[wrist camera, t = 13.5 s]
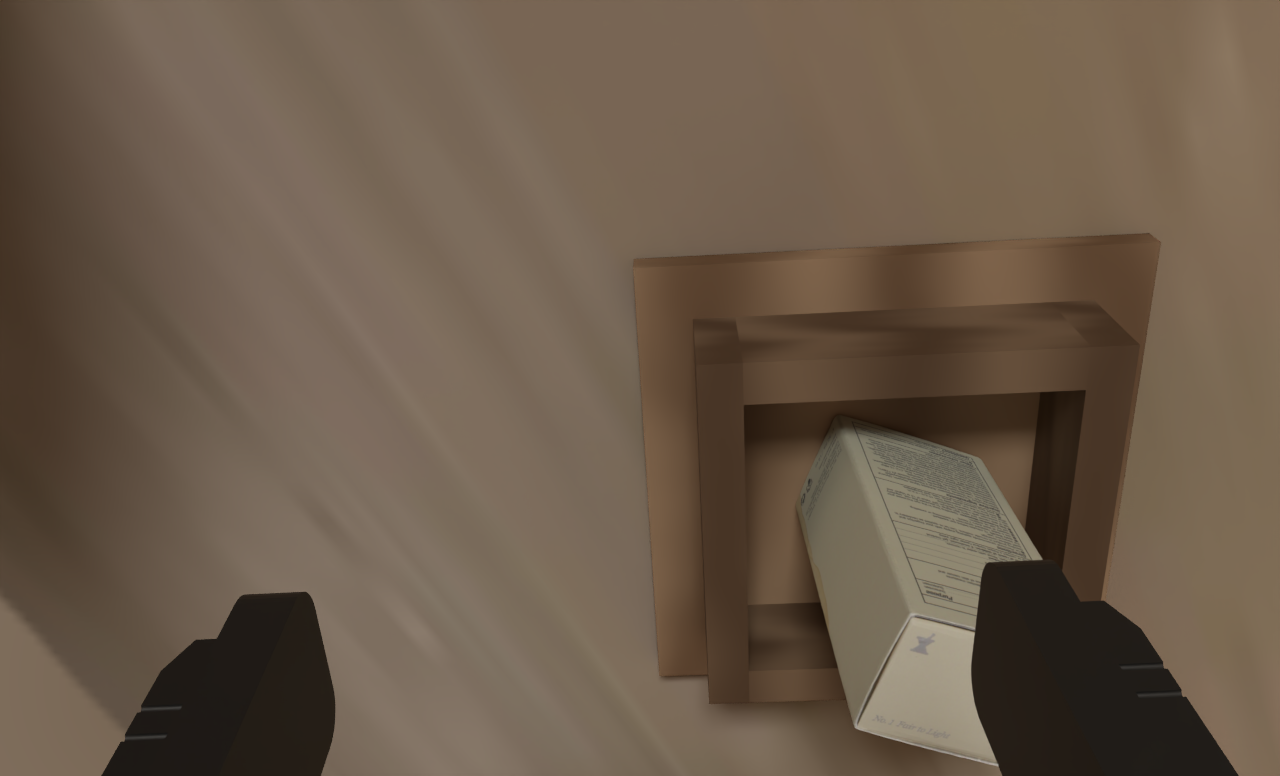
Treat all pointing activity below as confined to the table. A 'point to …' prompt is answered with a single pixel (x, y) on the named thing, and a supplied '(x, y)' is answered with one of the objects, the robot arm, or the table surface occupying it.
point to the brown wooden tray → (871, 419)
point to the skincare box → (905, 577)
